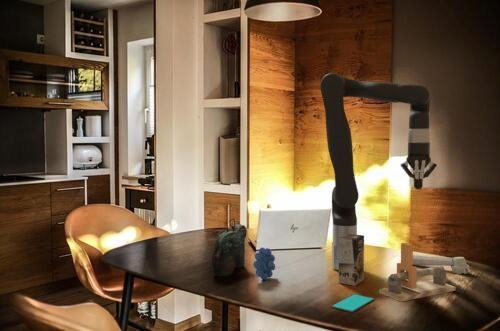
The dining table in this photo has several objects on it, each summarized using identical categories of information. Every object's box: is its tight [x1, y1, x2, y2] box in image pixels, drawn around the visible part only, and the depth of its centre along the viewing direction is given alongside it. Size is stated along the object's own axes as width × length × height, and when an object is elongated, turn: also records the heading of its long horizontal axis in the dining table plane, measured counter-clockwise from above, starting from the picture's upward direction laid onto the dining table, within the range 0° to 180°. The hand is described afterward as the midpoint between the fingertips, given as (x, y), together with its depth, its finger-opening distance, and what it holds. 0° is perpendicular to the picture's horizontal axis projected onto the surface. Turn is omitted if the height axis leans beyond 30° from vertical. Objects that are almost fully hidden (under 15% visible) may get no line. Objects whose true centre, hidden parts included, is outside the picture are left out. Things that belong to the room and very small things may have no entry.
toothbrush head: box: [413, 254, 470, 275], centre depth 194 cm, size 5×7×25 cm
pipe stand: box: [378, 266, 457, 302], centre depth 165 cm, size 24×10×7 cm, turn 117°
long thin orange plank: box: [396, 242, 418, 289], centre depth 163 cm, size 2×7×14 cm, turn 27°
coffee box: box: [338, 234, 365, 286], centre depth 177 cm, size 9×6×16 cm
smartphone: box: [330, 294, 375, 314], centre depth 154 cm, size 7×1×15 cm
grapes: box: [252, 247, 276, 281], centre depth 179 cm, size 12×7×12 cm, turn 141°
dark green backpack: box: [211, 218, 248, 277], centre depth 191 cm, size 20×6×20 cm, turn 150°
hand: (418, 189), depth 182 cm, fingers closed
